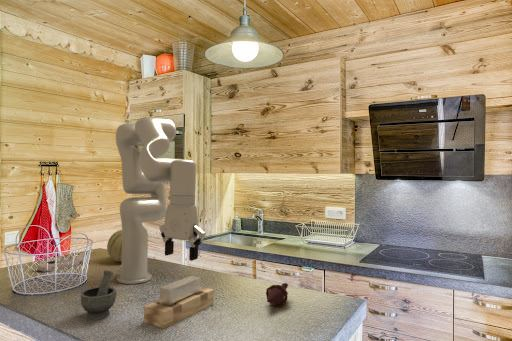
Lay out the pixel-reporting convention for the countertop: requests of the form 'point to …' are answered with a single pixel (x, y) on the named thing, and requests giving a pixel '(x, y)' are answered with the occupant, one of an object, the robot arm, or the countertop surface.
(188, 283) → the grey boxy piece
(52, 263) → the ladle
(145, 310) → the brown wooden rectangular block
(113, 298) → the mortar and pestle
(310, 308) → the countertop surface
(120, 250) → the cantaloupe
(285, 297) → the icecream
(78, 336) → the countertop surface
